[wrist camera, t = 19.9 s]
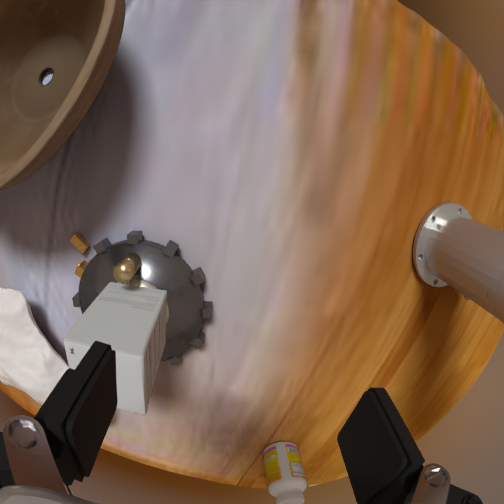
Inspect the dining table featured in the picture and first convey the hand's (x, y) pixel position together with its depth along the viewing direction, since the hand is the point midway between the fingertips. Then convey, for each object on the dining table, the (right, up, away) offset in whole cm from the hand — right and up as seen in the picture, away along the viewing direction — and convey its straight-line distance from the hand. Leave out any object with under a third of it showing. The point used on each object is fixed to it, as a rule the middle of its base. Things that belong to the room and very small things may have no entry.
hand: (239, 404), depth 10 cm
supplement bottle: (+6, -32, +38) cm, 49 cm away
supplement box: (-13, -2, +24) cm, 27 cm away
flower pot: (-26, +28, +17) cm, 42 cm away
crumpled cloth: (-36, -9, +27) cm, 46 cm away
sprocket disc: (-13, -1, +26) cm, 30 cm away
